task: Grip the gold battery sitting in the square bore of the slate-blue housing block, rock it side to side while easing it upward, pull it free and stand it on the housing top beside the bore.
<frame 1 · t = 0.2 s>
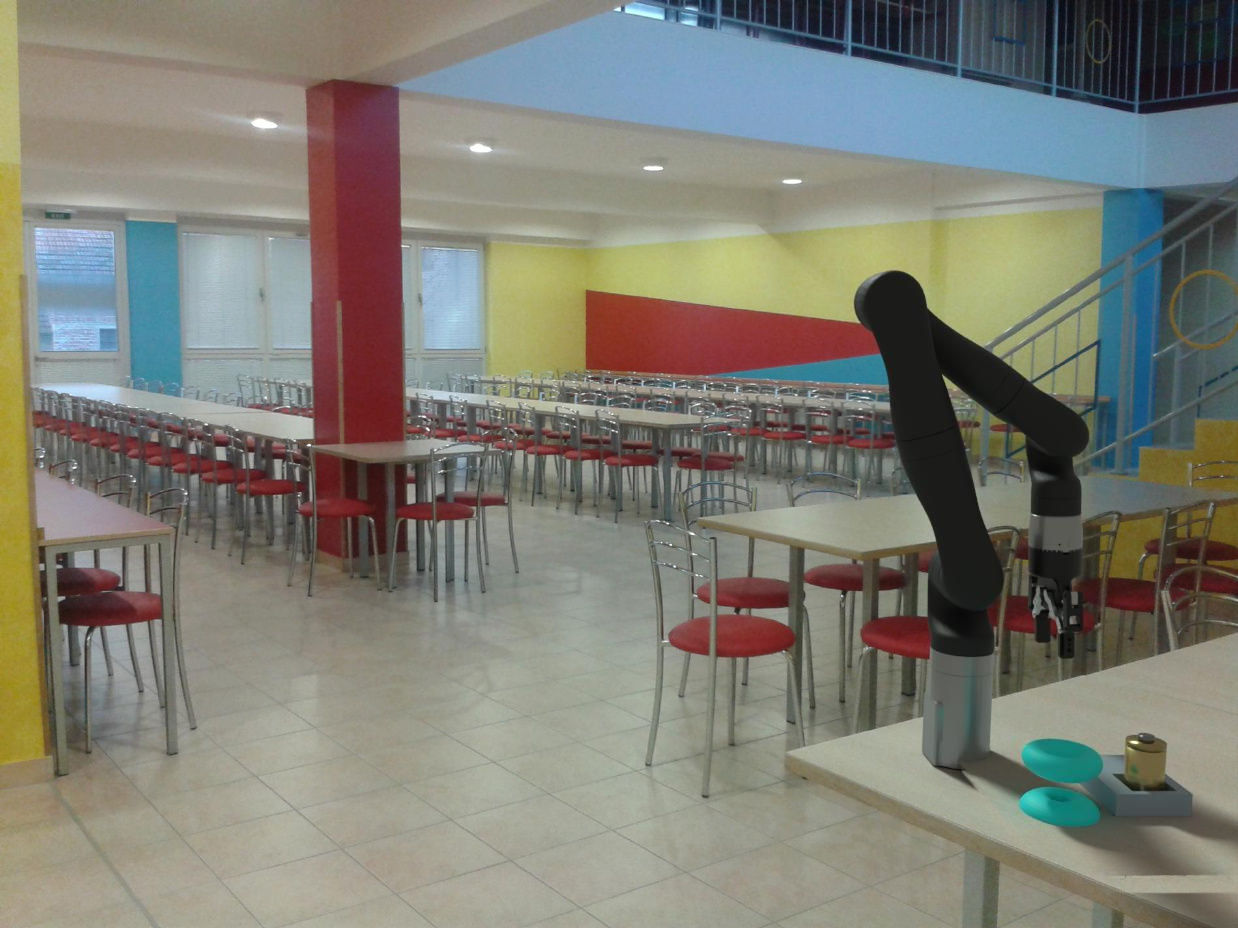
hand: (1053, 649, 166), 17 cm above the table, tool pointing down, fingers open, 8 cm apart
donuts: (1058, 822, 147), on the table
gold battery: (1142, 803, 149), point 1 cm above the table, touching housing
housing: (1127, 804, 152), on the table
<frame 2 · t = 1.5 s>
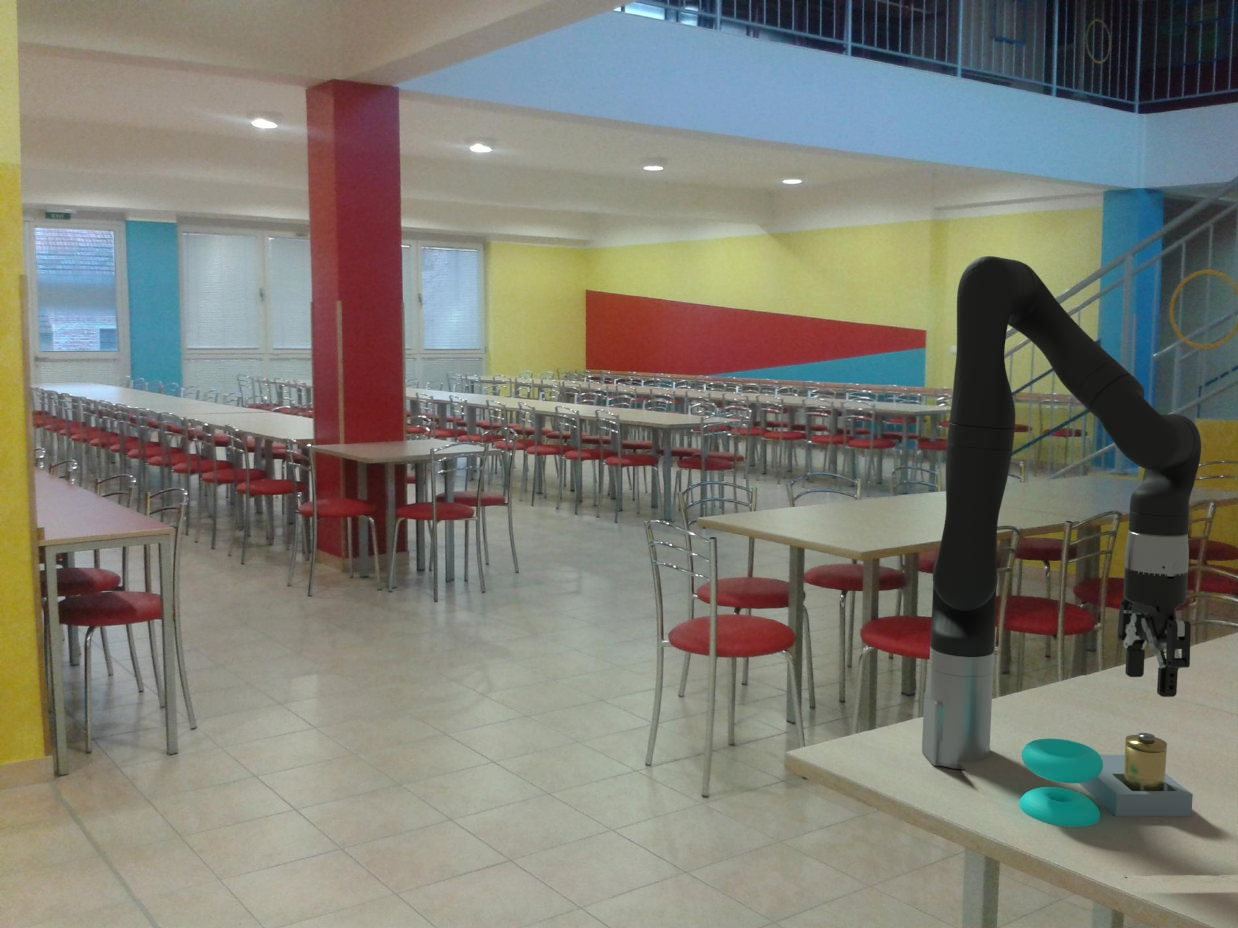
hand: (1150, 685, 147), 18 cm above the table, tool pointing down, fingers open, 8 cm apart
nothing on the table moved.
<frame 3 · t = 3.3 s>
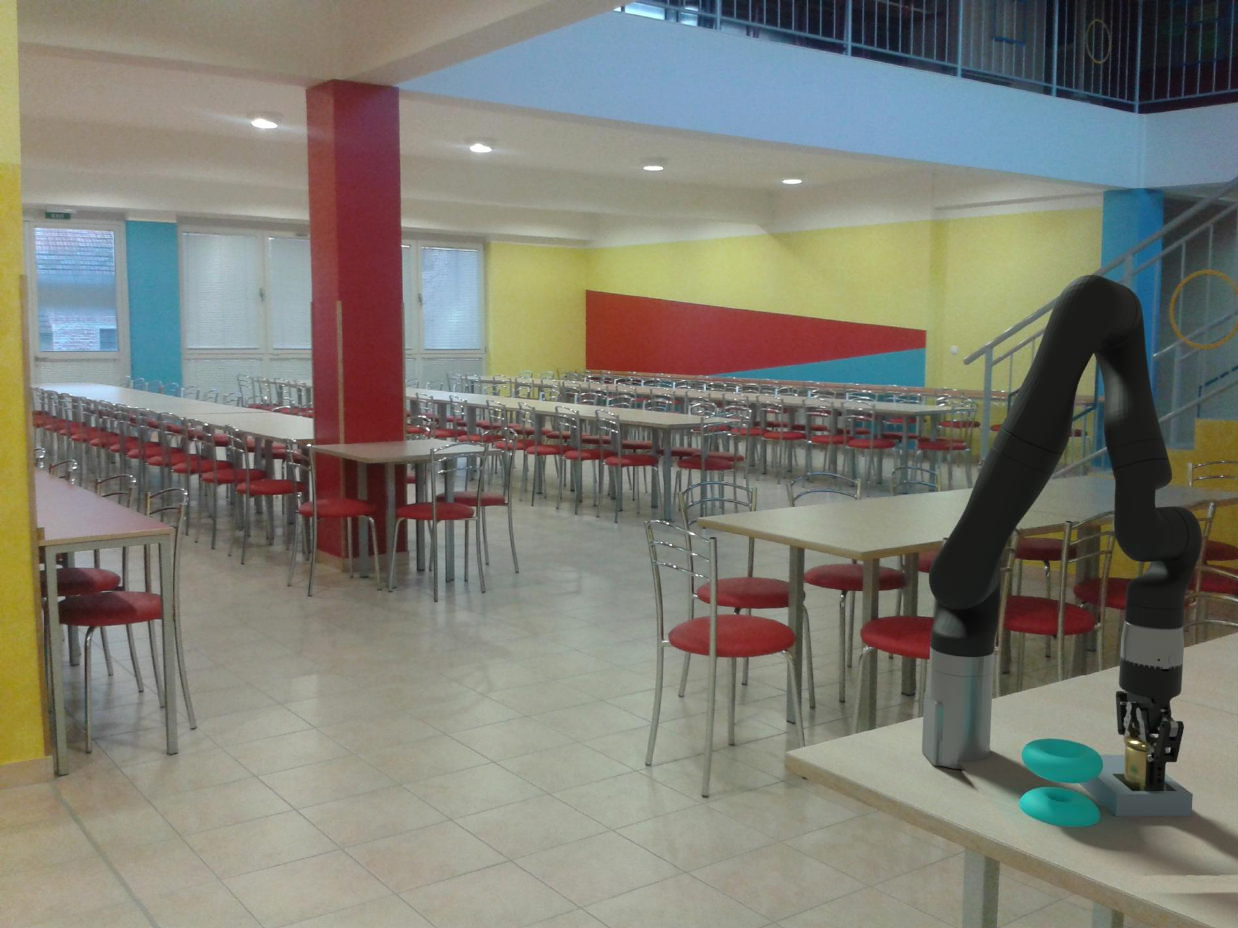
hand: (1144, 779, 148), 5 cm above the table, tool pointing down, fingers closed on gold battery, 5 cm apart
gold battery: (1142, 803, 149), point 1 cm above the table, touching gripper, housing
everything else where it was.
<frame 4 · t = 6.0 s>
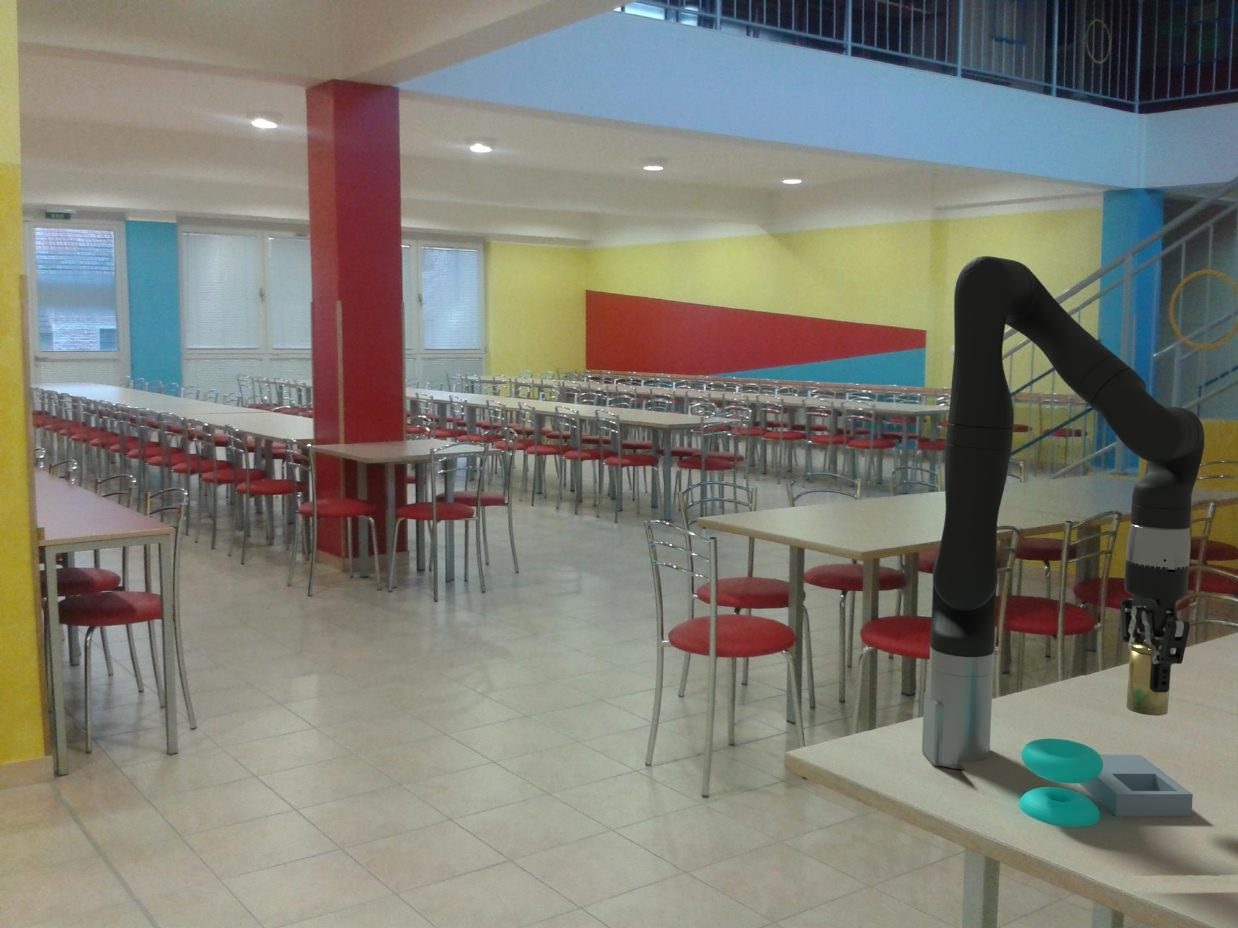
hand: (1148, 684, 147), 18 cm above the table, tool pointing down, fingers closed on gold battery, 5 cm apart
gold battery: (1146, 709, 147), point 15 cm above the table, touching gripper
everything else where it was.
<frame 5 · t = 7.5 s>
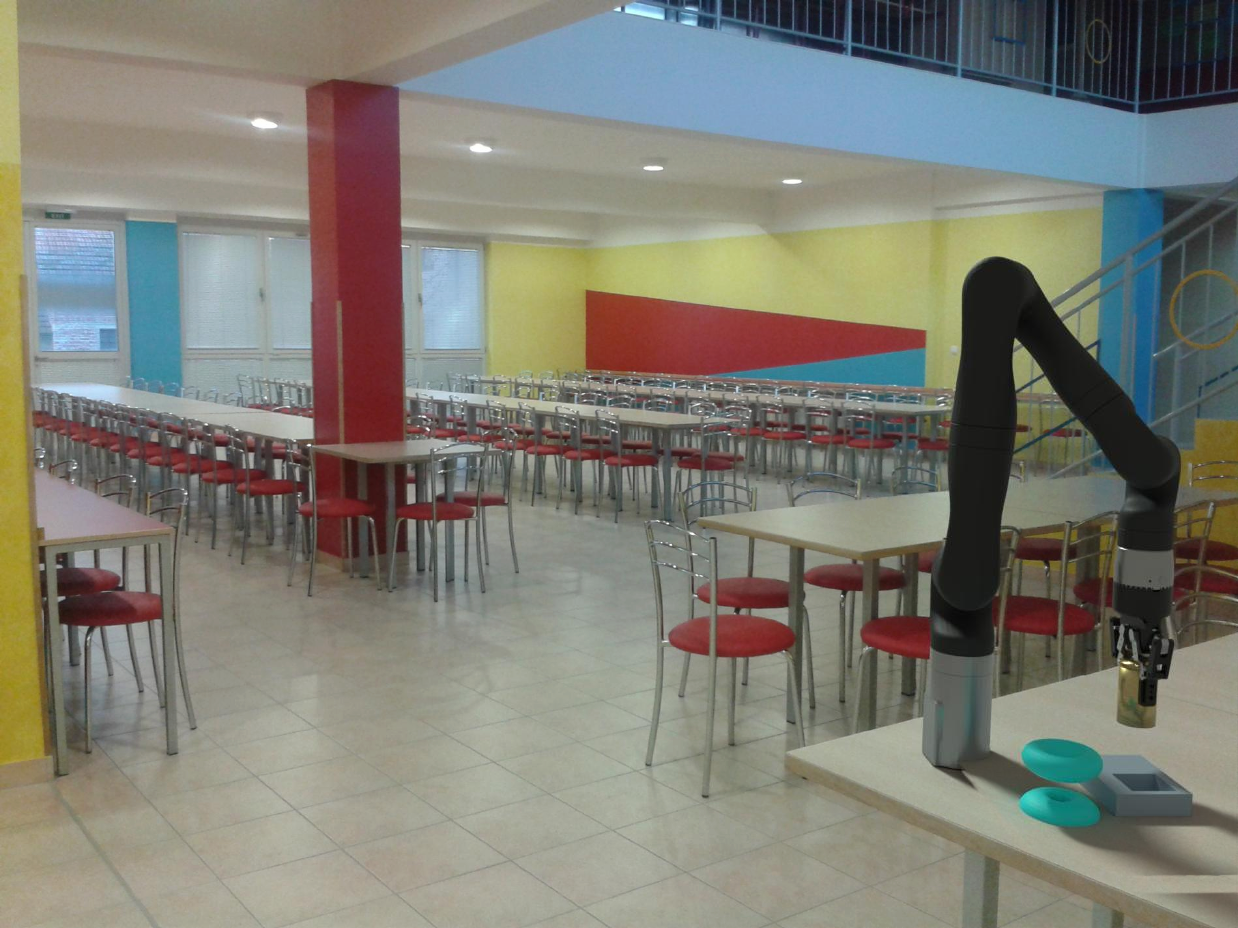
hand: (1137, 698, 154), 14 cm above the table, tool pointing down, fingers closed on gold battery, 5 cm apart
gold battery: (1135, 722, 155), point 10 cm above the table, touching gripper
everything else where it was.
when the fingers open (9 cm above the table, at t = 8.8 s): gold battery stays where it is, resting on housing.
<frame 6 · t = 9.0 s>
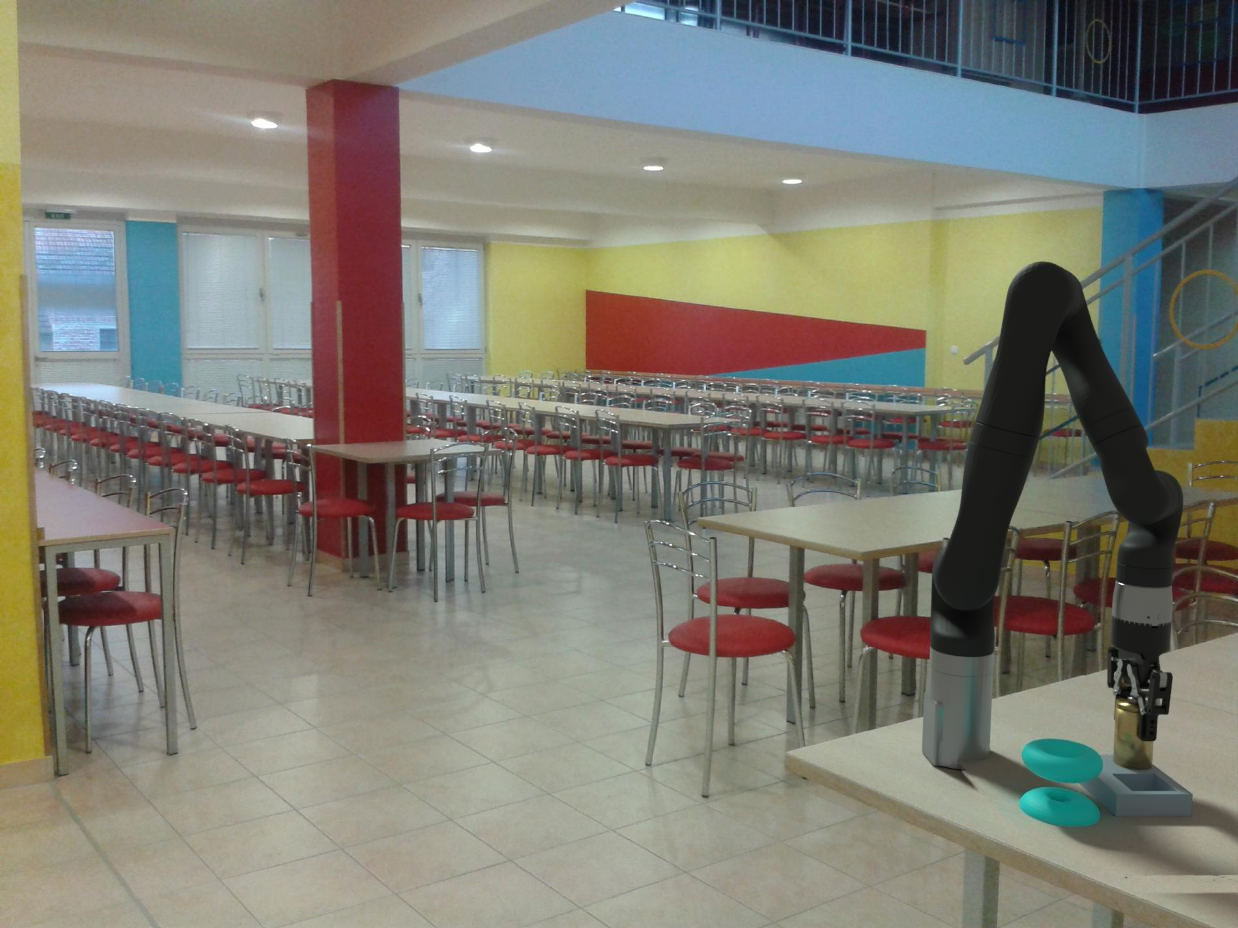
hand: (1134, 731, 155), 9 cm above the table, tool pointing down, fingers open, 6 cm apart
gold battery: (1132, 762, 155), point 5 cm above the table, touching housing
everything else where it was.
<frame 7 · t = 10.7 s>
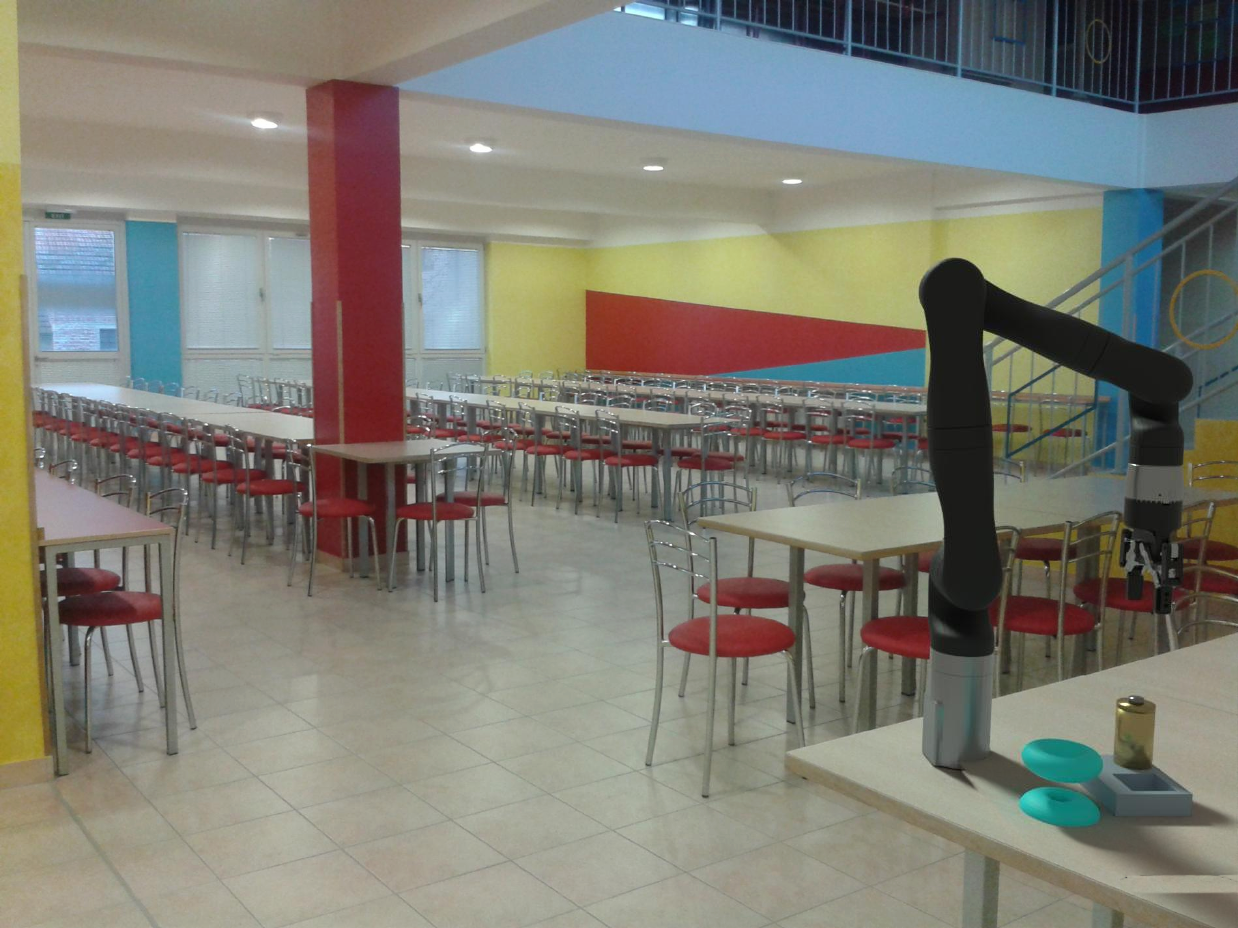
hand: (1147, 606, 160), 25 cm above the table, tool pointing down, fingers open, 8 cm apart
nothing on the table moved.
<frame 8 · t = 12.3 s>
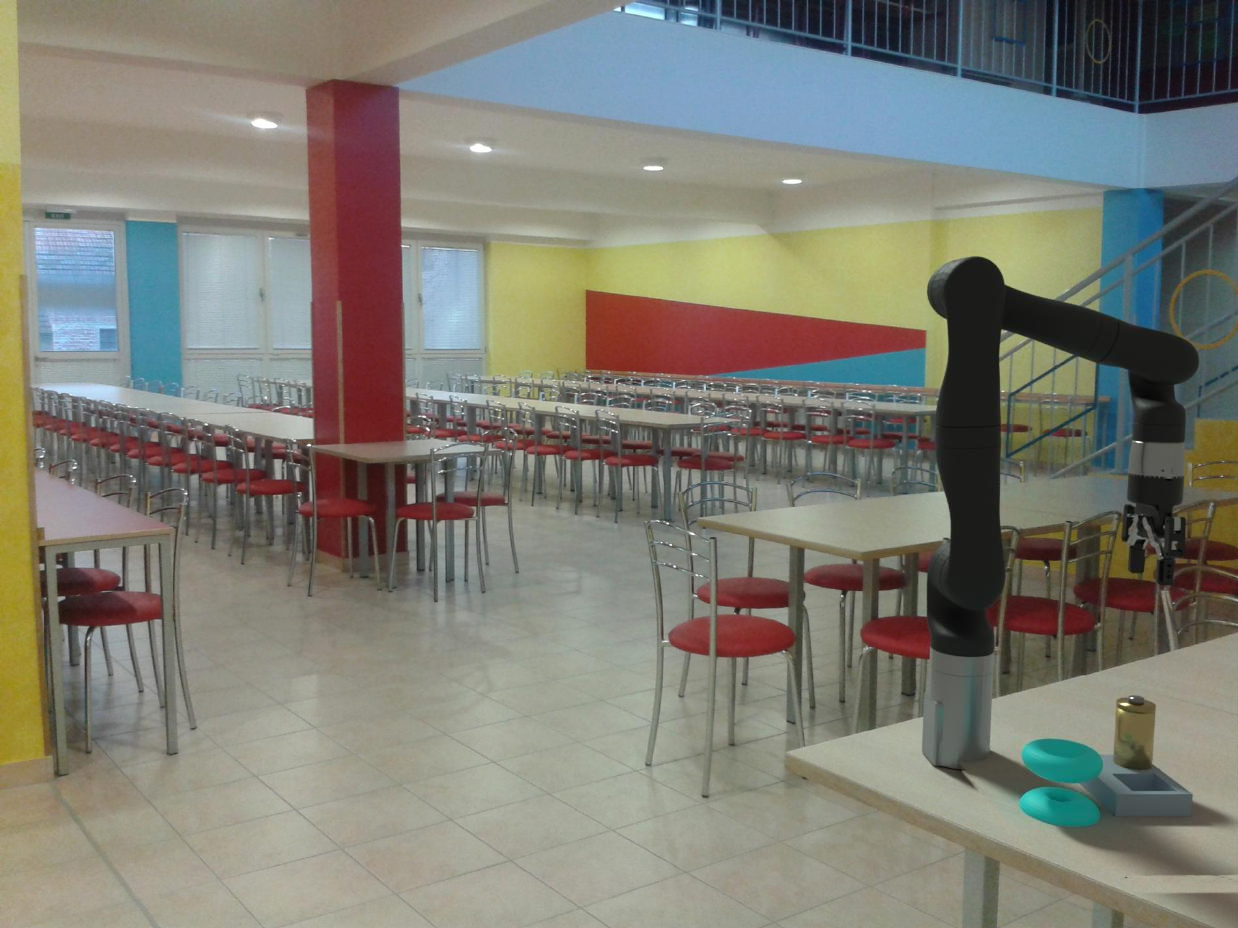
hand: (1149, 578, 166), 28 cm above the table, tool pointing down, fingers open, 8 cm apart
nothing on the table moved.
at the end: gold battery inside the target area (0.5 cm from its centre), point 4.5 cm above the table; gold battery tilted 0°; the gripper is holding nothing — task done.
